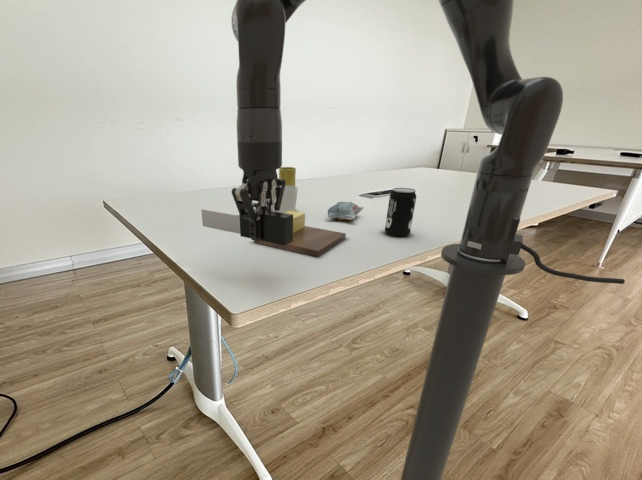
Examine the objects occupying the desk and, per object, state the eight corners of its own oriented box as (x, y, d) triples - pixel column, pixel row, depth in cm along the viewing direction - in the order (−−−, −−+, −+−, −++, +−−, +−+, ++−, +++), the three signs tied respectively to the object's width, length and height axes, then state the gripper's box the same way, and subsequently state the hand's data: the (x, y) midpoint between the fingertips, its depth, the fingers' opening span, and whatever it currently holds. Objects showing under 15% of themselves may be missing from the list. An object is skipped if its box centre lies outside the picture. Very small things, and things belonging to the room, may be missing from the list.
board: (345, 238, 90) (346, 233, 89) (317, 257, 78) (318, 250, 77) (287, 227, 99) (287, 222, 98) (254, 242, 87) (254, 237, 86)
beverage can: (405, 239, 90) (412, 192, 85) (380, 234, 94) (387, 189, 89) (412, 233, 95) (420, 189, 90) (389, 229, 98) (395, 186, 93)
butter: (304, 227, 94) (305, 213, 92) (291, 233, 89) (291, 218, 87) (289, 224, 97) (289, 210, 95) (275, 230, 91) (275, 216, 90)
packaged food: (362, 215, 112) (363, 200, 110) (353, 224, 102) (355, 208, 100) (336, 213, 115) (337, 198, 113) (325, 221, 105) (326, 205, 103)
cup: (266, 218, 108) (266, 186, 104) (290, 216, 111) (291, 184, 107) (275, 225, 101) (275, 190, 97) (300, 222, 104) (302, 189, 100)
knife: (292, 241, 63) (293, 214, 61) (284, 245, 61) (285, 217, 58) (208, 224, 73) (205, 200, 71) (198, 227, 71) (196, 203, 69)
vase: (276, 209, 119) (277, 166, 113) (294, 209, 119) (295, 166, 113) (278, 214, 113) (279, 169, 107) (296, 213, 114) (298, 169, 108)
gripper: (252, 141, 50) (255, 252, 57) (299, 137, 61) (297, 231, 68) (214, 140, 54) (221, 244, 61) (265, 136, 65) (266, 225, 72)
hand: (261, 237), depth 65 cm, fingers closed on knife, 3 cm apart
